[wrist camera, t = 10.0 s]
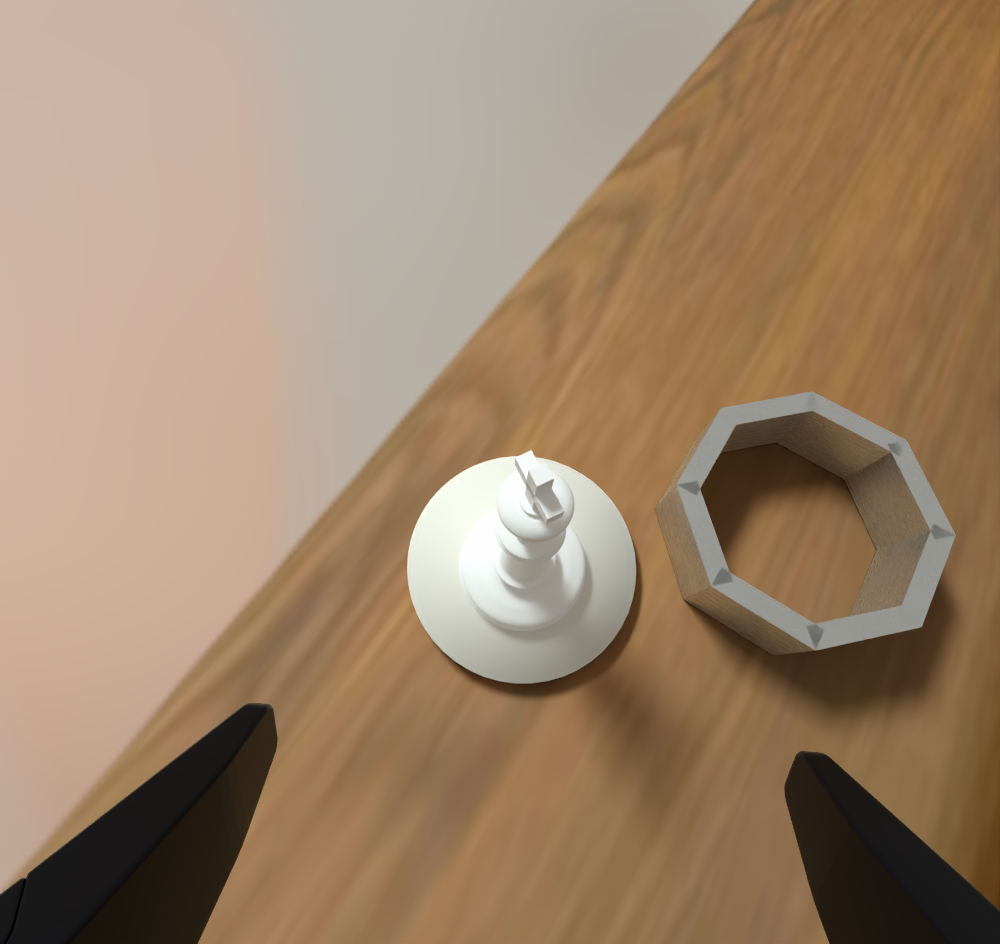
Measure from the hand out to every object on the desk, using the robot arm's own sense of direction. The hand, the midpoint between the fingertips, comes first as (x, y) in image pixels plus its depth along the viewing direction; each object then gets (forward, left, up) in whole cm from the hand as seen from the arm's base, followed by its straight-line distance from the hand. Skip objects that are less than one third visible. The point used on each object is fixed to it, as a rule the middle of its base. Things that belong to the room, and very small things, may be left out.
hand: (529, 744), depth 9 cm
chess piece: (+5, +3, -11) cm, 12 cm away
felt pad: (+5, +3, -12) cm, 13 cm away
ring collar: (+12, -5, -12) cm, 17 cm away
